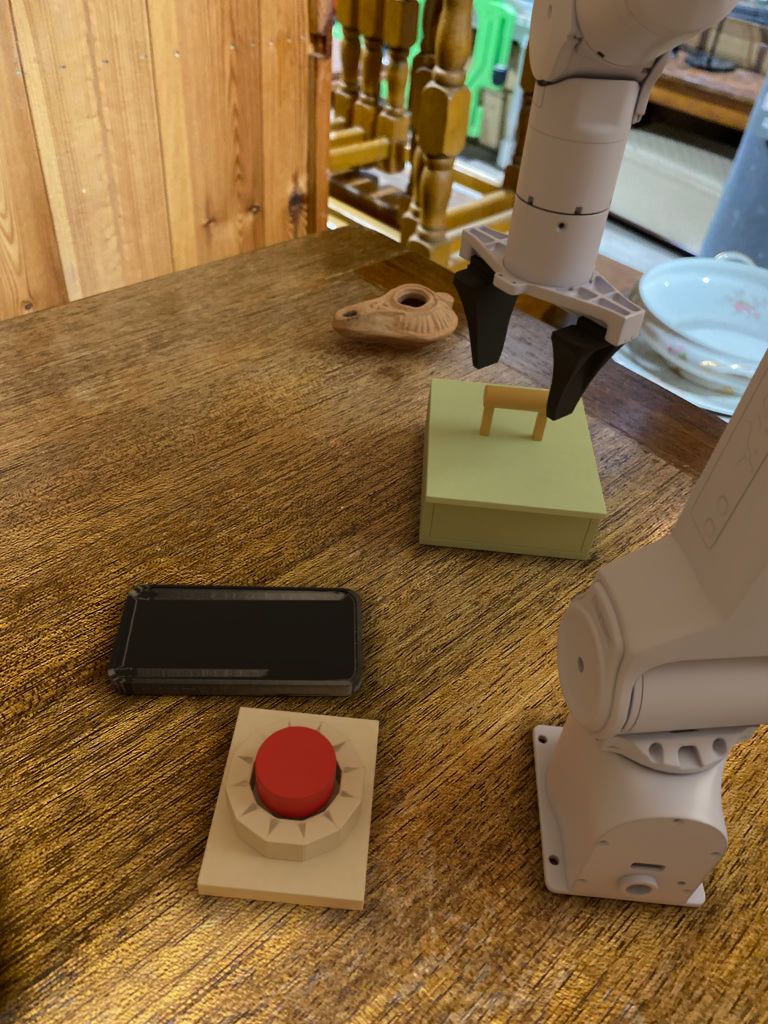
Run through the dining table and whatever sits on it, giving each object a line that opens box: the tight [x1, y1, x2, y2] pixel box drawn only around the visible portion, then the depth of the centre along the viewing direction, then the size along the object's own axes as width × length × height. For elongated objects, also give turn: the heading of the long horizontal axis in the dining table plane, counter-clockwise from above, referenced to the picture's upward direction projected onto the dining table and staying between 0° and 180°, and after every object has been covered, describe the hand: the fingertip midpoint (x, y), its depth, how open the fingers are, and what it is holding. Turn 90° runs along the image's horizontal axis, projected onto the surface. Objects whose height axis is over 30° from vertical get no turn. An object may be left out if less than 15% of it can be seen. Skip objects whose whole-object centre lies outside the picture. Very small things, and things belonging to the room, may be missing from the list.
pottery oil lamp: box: [330, 283, 459, 351], centre depth 77 cm, size 9×12×7 cm
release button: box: [255, 726, 336, 818], centre depth 39 cm, size 4×4×2 cm
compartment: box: [418, 384, 601, 561], centre depth 61 cm, size 14×12×5 cm
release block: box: [196, 706, 380, 912], centre depth 41 cm, size 10×8×3 cm
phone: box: [107, 583, 364, 697], centre depth 49 cm, size 8×1×15 cm
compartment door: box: [425, 377, 608, 521], centre depth 58 cm, size 15×12×5 cm
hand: (520, 388), depth 56 cm, fingers open, 7 cm apart
